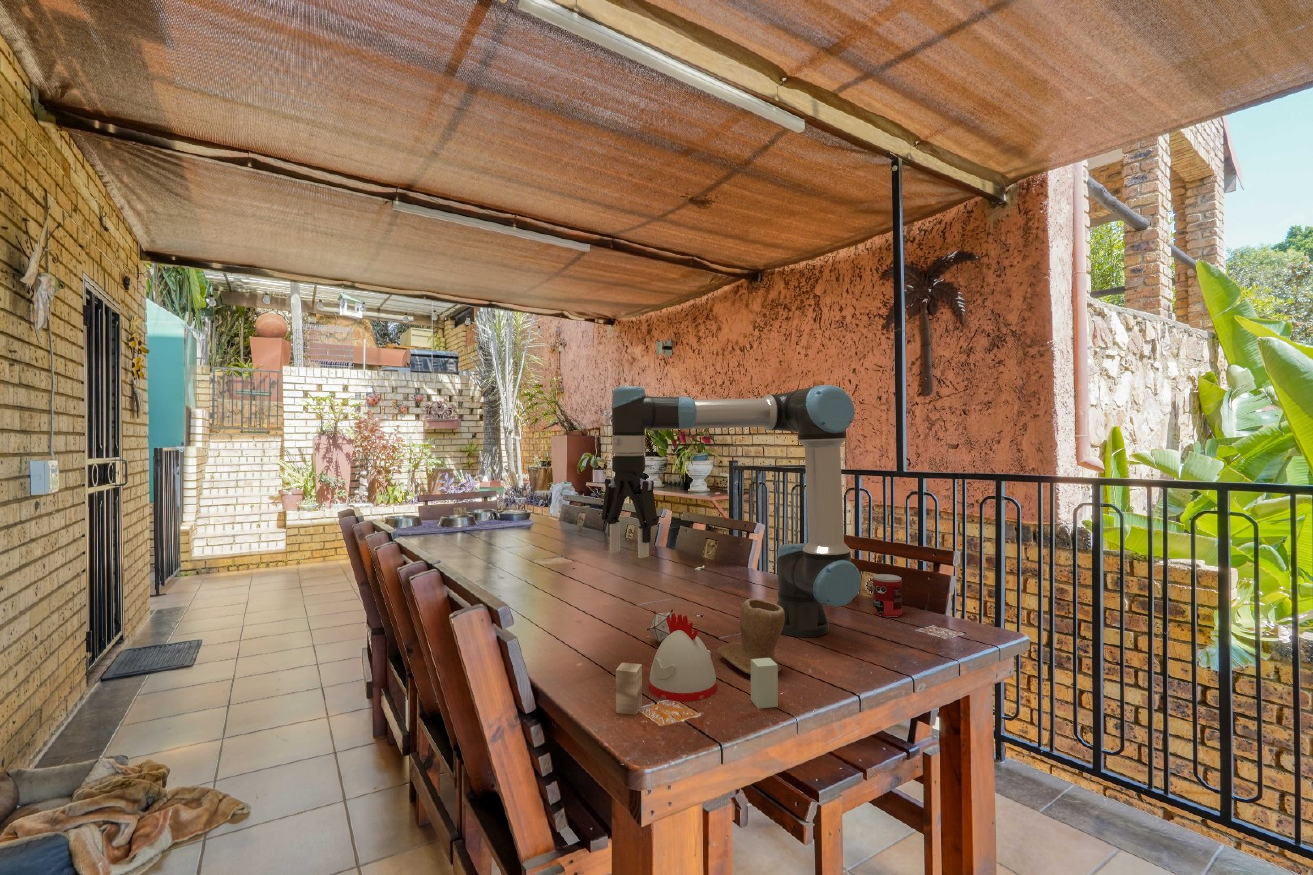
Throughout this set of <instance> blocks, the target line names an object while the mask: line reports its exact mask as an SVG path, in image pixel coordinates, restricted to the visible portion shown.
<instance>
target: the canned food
mask: <svg viewBox="0 0 1313 875" xmlns="http://www.w3.org/2000/svg"><path fill="white" fill-rule="evenodd" d="M902 578H903V577H900V576H898V575H895V574H887V573H886V574H884V573H879V574H873V575H872V612H873V613H874V612H875V613H876V614H878V615H881V616H900V615H901V614H903V579H902ZM881 616H880V617H881ZM901 616H902V615H901ZM901 616H900V617H901Z"/></svg>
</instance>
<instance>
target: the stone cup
mask: <svg viewBox="0 0 1313 875" xmlns="http://www.w3.org/2000/svg"><path fill="white" fill-rule="evenodd" d="M739 615H740V616H739V629H740V636H741V637H740V638H741V642H729V643H725V644H723V645H721V646H719V647H718V649H717V652H718V653H719V654H720V655H721V656H722V657H723V658H724V659H726V660H727V661H728V662H729V663H730V664H731V665H732V666H734V667H736V668H738V670H741V672H743V673H746V674H747V675H750V676H751V659H760V658H771V659H772V660H773V661H774V662H775V663H776V664H777V665H778V673H779V672H780V671H781V669H782V666H781V665H780V664H779V662H778V661H777V659H775V649H776V647H777V645H778V641H779V639H780V637H781V635H782V634H781V632H782V630H783V626H784V623H785V612H784V609H783V608H782V607H781V606H779V605H777V604H776V603H774V602H771V601H768V600H764V599H759V598H748V599H745V600H744V601H743V603H742V604H741V608H740V613H739Z"/></svg>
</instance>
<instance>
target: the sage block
mask: <svg viewBox="0 0 1313 875" xmlns="http://www.w3.org/2000/svg"><path fill="white" fill-rule="evenodd" d="M778 674H779V672H778V665H777V664H776V663H775V662H774V661H773V660H772V659H771V658H760V659H751V675H750V701H751V702H752V703H753V704H754V706H755V707H756V708H757V709H758V710H759V709H771V708H778V707H779V680H778V679H779V675H778Z"/></svg>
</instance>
